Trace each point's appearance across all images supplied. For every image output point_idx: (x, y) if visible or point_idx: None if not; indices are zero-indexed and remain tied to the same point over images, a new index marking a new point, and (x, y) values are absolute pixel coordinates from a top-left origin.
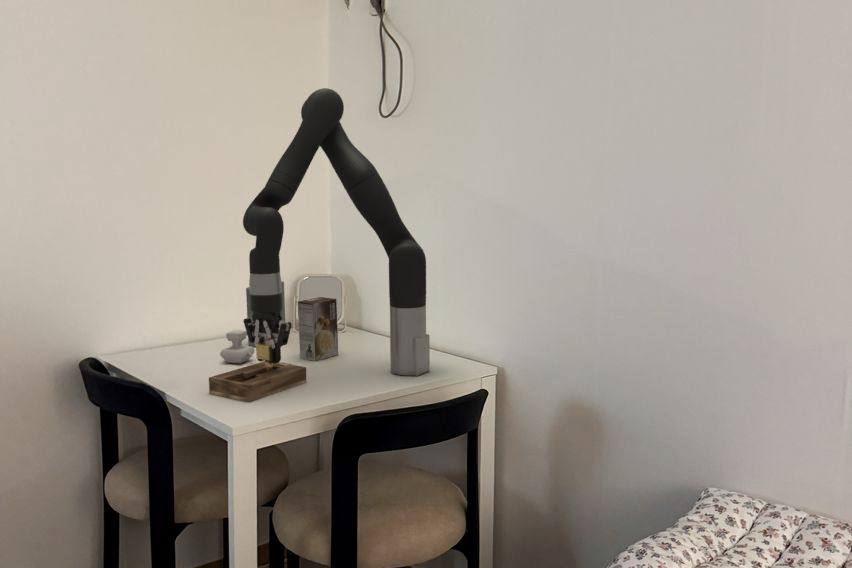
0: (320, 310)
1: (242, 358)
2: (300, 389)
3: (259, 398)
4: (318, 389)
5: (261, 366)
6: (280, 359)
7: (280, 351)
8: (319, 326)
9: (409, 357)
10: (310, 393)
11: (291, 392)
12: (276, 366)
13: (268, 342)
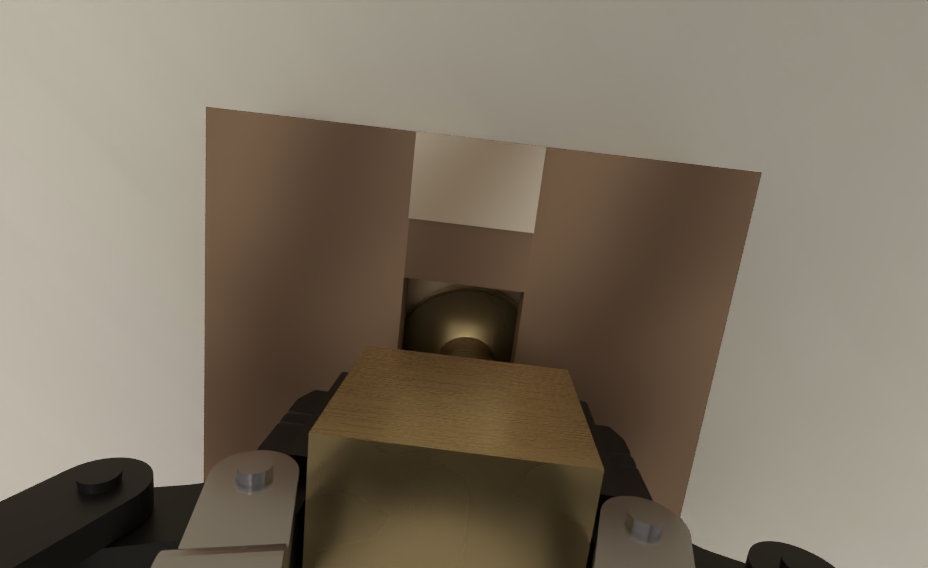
0: None
1: None
2: (750, 348)
3: None
4: (884, 295)
5: (328, 334)
6: (615, 435)
7: (646, 492)
8: None
9: None
10: (870, 400)
11: (726, 431)
12: (458, 276)
13: (399, 519)
